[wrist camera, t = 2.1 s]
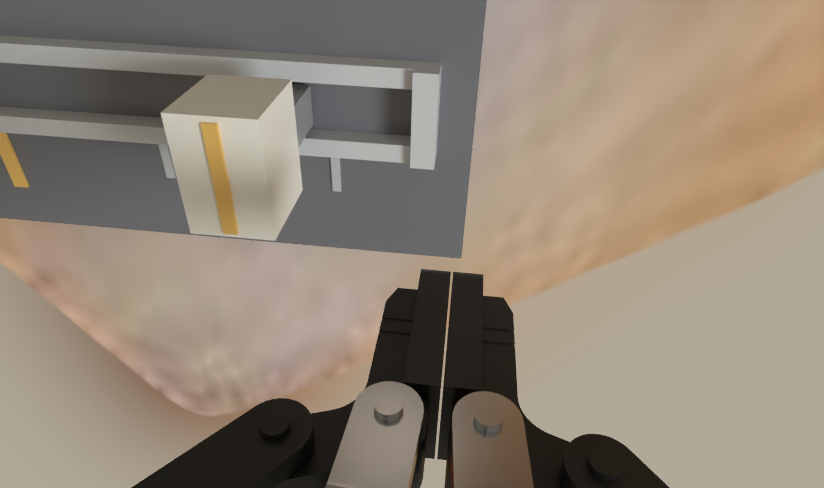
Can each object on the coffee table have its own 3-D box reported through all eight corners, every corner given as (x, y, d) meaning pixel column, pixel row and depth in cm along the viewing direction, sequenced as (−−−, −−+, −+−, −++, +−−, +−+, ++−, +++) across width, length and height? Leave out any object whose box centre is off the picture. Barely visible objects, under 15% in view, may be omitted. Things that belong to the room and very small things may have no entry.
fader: (240, 47, 22) (158, 114, 17) (314, 52, 22) (256, 121, 16) (256, 148, 25) (189, 235, 19) (322, 153, 24) (273, 243, 19)
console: (-298, -136, 23) (-407, -133, 20) (495, -105, 20) (497, -97, 17) (-107, 186, 31) (-164, 219, 29) (462, 235, 29) (460, 276, 26)
